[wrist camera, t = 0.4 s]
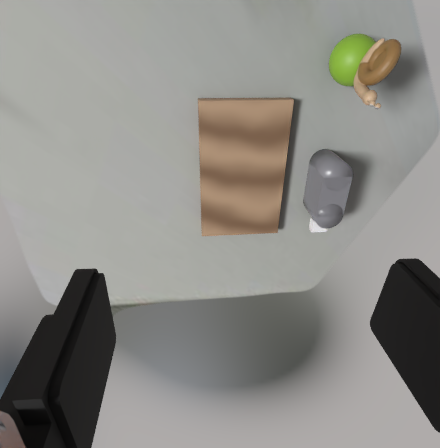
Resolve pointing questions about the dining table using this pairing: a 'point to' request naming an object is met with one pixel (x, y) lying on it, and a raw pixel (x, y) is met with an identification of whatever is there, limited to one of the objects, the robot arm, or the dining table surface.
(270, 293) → the dining table surface
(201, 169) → the walnut board
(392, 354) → the robot arm
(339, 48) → the snail figurine
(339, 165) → the block
